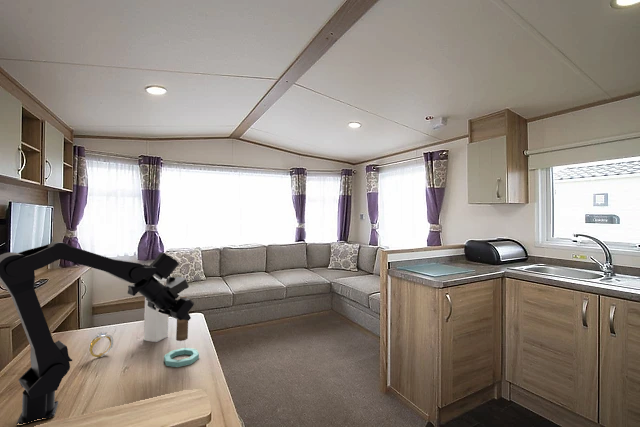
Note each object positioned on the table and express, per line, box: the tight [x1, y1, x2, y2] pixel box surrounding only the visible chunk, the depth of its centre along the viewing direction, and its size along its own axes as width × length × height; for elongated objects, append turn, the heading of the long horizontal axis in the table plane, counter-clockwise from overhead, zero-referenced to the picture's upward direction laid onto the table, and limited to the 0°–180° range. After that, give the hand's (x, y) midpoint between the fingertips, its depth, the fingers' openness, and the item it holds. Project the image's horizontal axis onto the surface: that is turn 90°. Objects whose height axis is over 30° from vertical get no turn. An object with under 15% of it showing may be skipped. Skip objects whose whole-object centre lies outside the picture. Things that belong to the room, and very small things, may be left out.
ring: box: [88, 331, 114, 358], centre depth 102 cm, size 7×3×8 cm, turn 145°
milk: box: [143, 281, 170, 343], centre depth 118 cm, size 6×6×22 cm
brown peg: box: [175, 295, 190, 342], centre depth 102 cm, size 4×4×14 cm
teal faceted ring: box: [163, 347, 200, 368], centre depth 102 cm, size 10×10×2 cm
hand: (186, 317), depth 103 cm, fingers closed on brown peg, 3 cm apart
